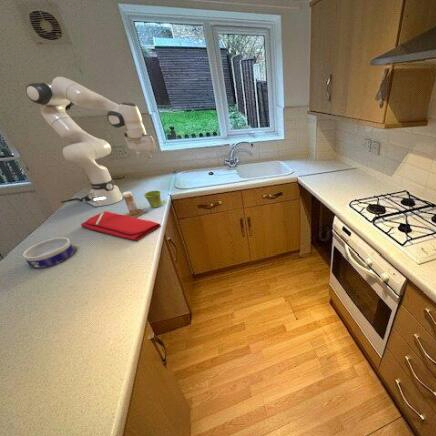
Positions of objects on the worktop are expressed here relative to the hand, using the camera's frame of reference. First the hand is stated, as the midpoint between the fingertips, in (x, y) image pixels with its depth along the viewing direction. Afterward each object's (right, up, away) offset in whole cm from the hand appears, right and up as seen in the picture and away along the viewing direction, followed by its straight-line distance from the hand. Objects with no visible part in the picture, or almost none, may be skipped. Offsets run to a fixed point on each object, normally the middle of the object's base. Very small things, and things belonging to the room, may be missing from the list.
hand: (145, 157), depth 145 cm
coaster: (-5, -35, -2) cm, 35 cm away
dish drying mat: (-3, -42, -16) cm, 45 cm away
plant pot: (+3, -30, +7) cm, 30 cm away
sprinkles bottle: (-5, -35, -3) cm, 35 cm away
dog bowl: (-18, -55, -38) cm, 69 cm away
